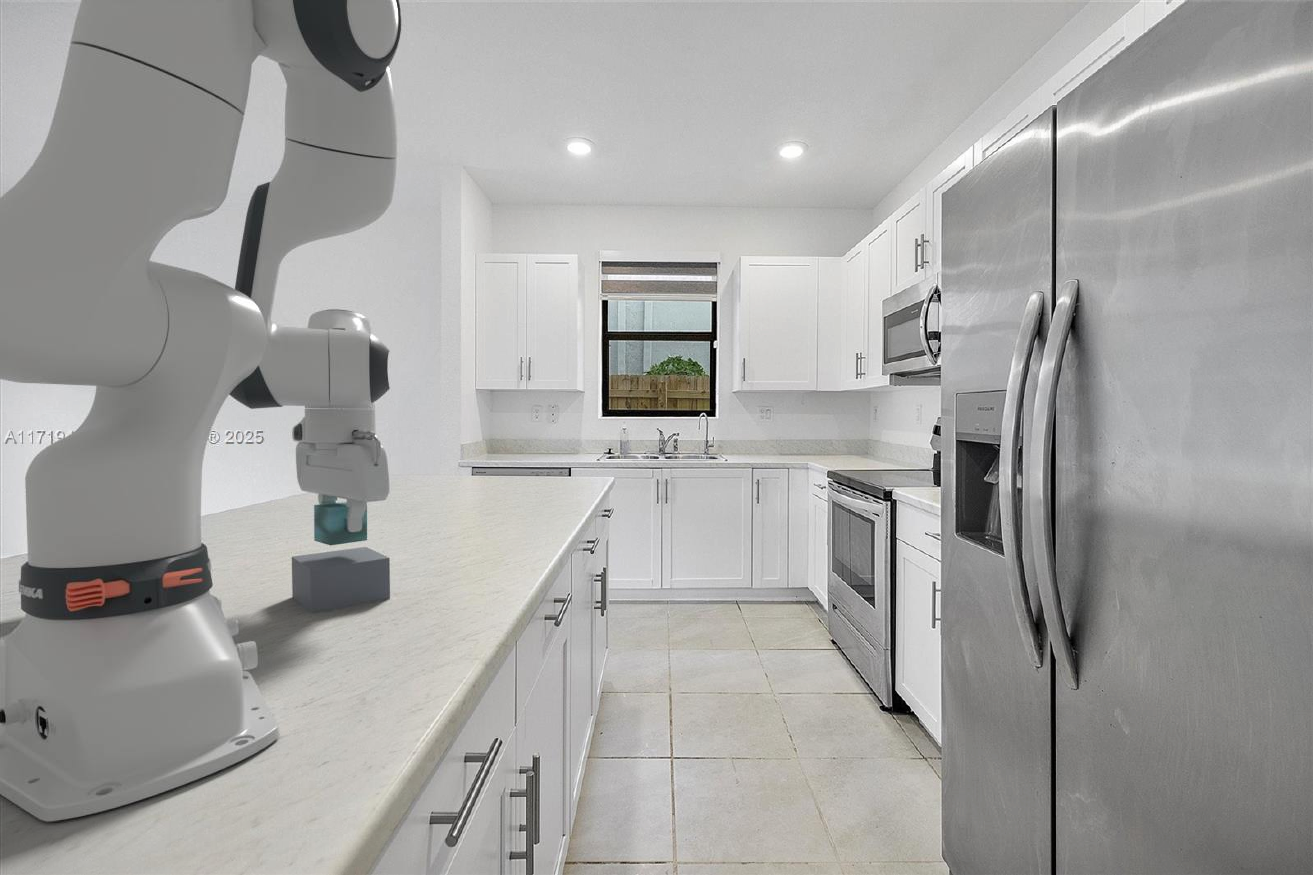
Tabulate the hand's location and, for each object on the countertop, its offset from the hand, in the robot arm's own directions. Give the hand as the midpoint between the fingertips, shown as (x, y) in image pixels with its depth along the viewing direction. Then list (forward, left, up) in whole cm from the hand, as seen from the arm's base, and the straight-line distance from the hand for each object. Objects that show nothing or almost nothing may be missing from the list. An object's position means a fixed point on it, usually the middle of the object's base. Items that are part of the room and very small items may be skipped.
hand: (342, 528), depth 89 cm
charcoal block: (0, 0, -10) cm, 10 cm away
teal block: (0, 0, -2) cm, 2 cm away
